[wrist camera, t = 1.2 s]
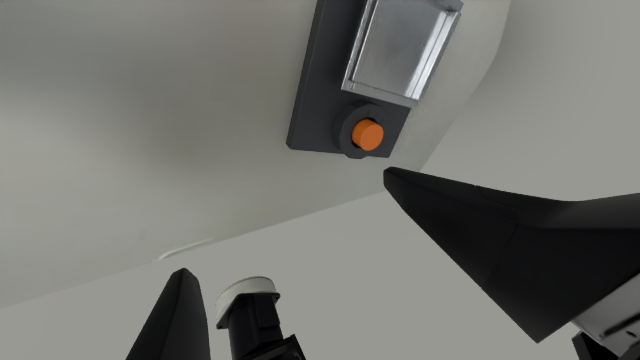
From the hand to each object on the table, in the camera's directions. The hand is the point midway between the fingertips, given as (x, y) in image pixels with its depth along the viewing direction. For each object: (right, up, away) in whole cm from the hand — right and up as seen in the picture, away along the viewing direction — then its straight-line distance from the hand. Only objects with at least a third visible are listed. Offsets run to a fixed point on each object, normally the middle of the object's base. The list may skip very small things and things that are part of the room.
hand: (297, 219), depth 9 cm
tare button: (+5, +6, +12) cm, 15 cm away
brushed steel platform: (+7, +13, +9) cm, 17 cm away
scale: (+5, +12, +12) cm, 18 cm away
